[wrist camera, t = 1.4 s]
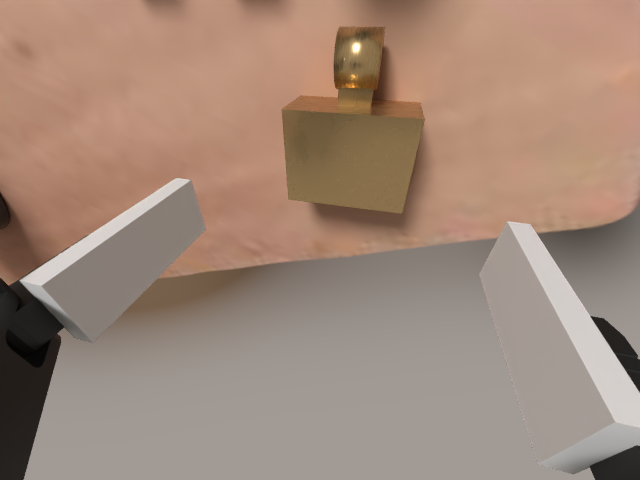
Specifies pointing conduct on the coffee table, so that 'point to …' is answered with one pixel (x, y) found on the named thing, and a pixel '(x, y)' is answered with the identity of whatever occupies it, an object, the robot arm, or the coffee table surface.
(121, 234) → the robot arm
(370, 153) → the gold knuckled block
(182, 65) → the coffee table surface
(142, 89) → the coffee table surface
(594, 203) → the coffee table surface
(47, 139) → the coffee table surface
